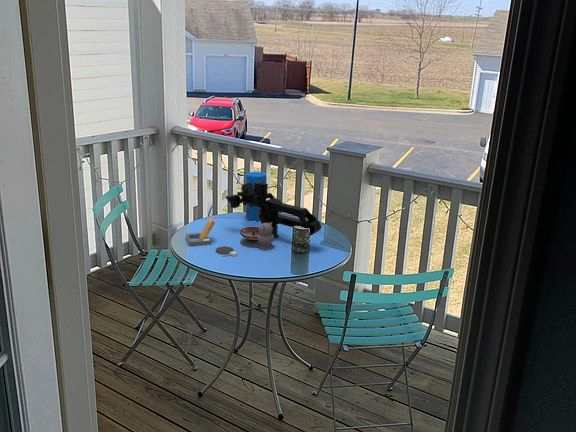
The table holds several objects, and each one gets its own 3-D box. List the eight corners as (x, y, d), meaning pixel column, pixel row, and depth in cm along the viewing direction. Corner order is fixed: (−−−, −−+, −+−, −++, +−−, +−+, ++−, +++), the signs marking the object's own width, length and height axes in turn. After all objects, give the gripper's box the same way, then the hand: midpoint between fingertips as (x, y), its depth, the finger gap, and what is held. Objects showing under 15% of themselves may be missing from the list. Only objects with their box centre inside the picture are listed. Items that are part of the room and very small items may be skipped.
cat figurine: (263, 242, 271) (264, 219, 267) (277, 245, 267) (277, 222, 263) (253, 247, 264) (254, 224, 260) (267, 251, 260) (268, 227, 256)
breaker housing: (206, 237, 273) (206, 231, 272) (211, 246, 263) (210, 240, 262) (185, 239, 270) (185, 233, 269) (189, 248, 260) (189, 242, 259)
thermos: (266, 216, 307) (267, 172, 298) (264, 222, 297) (265, 177, 288) (247, 214, 307) (247, 171, 299) (244, 221, 297) (244, 176, 289)
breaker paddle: (201, 237, 270) (213, 218, 268) (204, 242, 264) (215, 222, 263) (198, 236, 269) (210, 216, 268) (200, 241, 264) (212, 220, 262)
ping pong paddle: (241, 253, 256) (241, 250, 256) (229, 259, 250) (229, 256, 249) (223, 248, 262) (223, 245, 261) (212, 253, 256) (212, 250, 255)
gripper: (267, 181, 282) (243, 176, 290) (243, 189, 268) (219, 183, 276) (266, 202, 286) (243, 196, 294) (243, 211, 271) (219, 205, 279)
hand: (231, 195), depth 286 cm, fingers open, 9 cm apart
